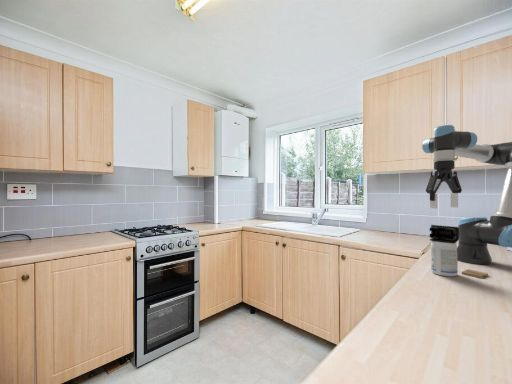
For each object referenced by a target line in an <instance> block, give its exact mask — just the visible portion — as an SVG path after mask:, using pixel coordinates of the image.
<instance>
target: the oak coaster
mask: <svg viewBox="0 0 512 384" xmlns="http://www.w3.org/2000/svg"><path fill="white" fill-rule="evenodd" d="M461 275H464V276H468V277H469V276H470V277H473V278H476V279H477V278H478V279H484V278H487V277H489V273H488V272H484V271H483V272H482V271H478V270H474V269H469V268H468V269H465V270H463V271H461Z"/></svg>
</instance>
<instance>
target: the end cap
mask: <svg viewBox="0 0 512 384" xmlns="http://www.w3.org/2000/svg"><path fill="white" fill-rule="evenodd" d="M429 232H430V233H429V238H430V239H429V241H430V242H431V241H437V242H445V243H457V242H459V228H458V226H452V225H450V226H448V225H438V224H430V227H429Z"/></svg>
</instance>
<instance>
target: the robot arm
mask: <svg viewBox="0 0 512 384" xmlns="http://www.w3.org/2000/svg"><path fill="white" fill-rule="evenodd" d="M477 142H478V135H477V134H476V133H475V132H472V131H471V132H470V131H467V130H466V131H458V130H457V131H456V129H455V126H454V125H452V124H448V125H447V124H446V125H445V124H444V125H440V126H437V127H435V128H434V129H433V136H432V137H430V138H427V139H425V140H424V141H423V142H422V144H421V145H422V146H421V148H422V151H423V152H424V153H426V154H433V161H434V162H433V169H434V171H433V170H432V171H430V177H429V179H428V180H429V181H428V183H427V186H426V189H425V192H426V193H427V194H429V208H430V209H438V193H437V192H438V190H439V188H440V186H441V184H442V183H443V182H445V183H446V185H447V186H448V188H449V189H450V208H459V194H461V193H462V191H463V190H462V186H461V183H460V179H459V178H458V177H459V176H458V171H455V170H454V169H455V167H456V166H455V164H456V163H455V157H460V158H466V159H472V160H475V161H477V162H478V163H483V164H489V165H495V166H505V168H506V169H507V170H506V174H505V177H504V182H503V185H502V189H501V193H500V197H499V200H498V203H497V208H496V211H495V213H494V214H492V215H490V218H489V220H488V218H487V216H485V217H482V216H481V217H477V216H476V217H461V218H459V219H458V226H457V227H458V228H459V240H458V245H457V261H459V262H464V263H469V264H475V265H492V262H493V261H492V260H493V259H492V256H491V254H490V252H489V251H490V250H489V249H488V245H491V246H492V245H493V246H498V247H502V248H512V141H509V142H502V143H494V144H487V143H485V144H477ZM453 170H454V171H453Z"/></svg>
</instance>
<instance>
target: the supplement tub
mask: <svg viewBox="0 0 512 384" xmlns="http://www.w3.org/2000/svg"><path fill="white" fill-rule="evenodd" d="M430 242H431V243H430V261H431V262H430V263H431V264H430V266H431V272H432V273H433V274H435V275H438V276H442V277H443V276H444V277H455V276H457V275H458V273H459V271H458V260H457V247H458V245H457V242H456V243H445V242H437V241H430Z"/></svg>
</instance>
